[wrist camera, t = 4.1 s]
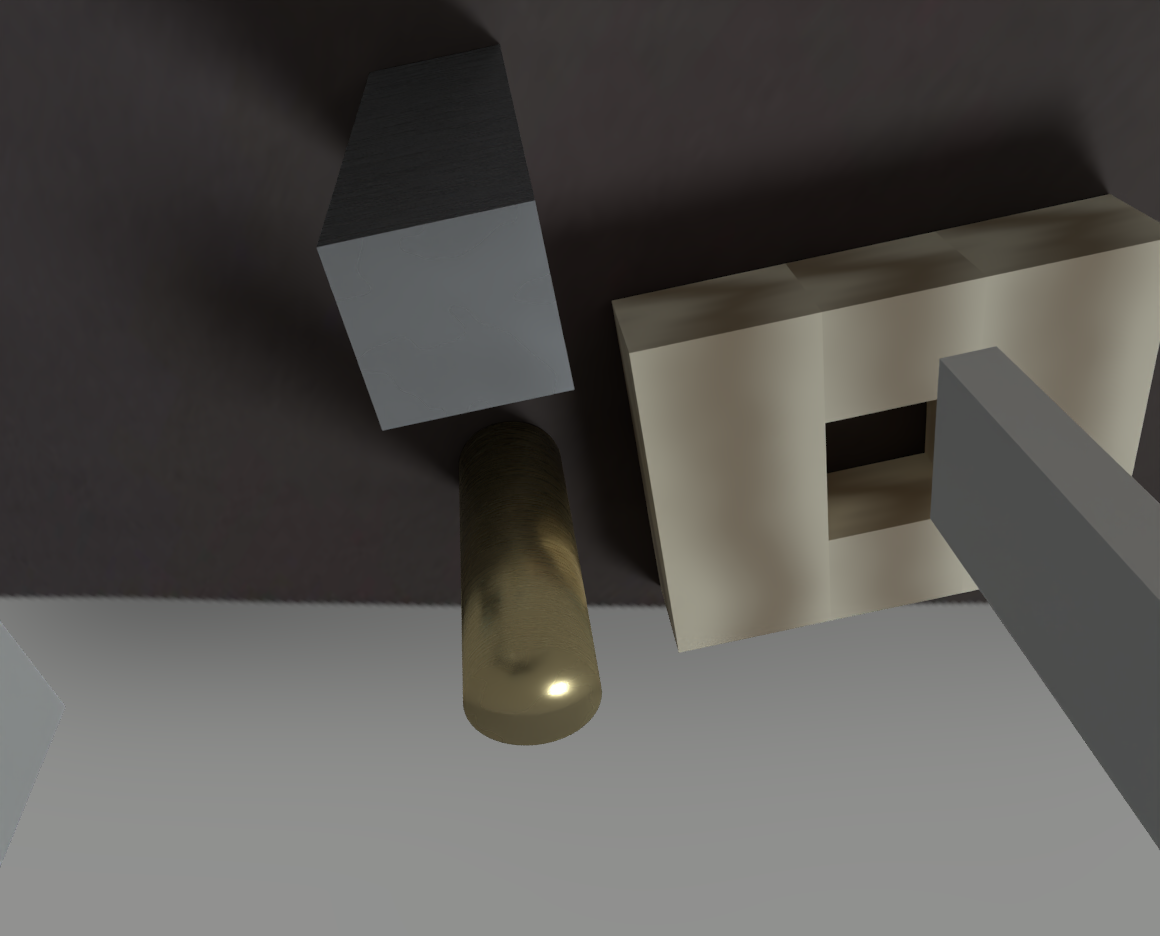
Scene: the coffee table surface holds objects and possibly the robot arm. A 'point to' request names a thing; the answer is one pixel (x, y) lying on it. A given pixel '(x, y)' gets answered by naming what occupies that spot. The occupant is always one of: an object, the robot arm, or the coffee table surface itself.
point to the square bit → (442, 246)
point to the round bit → (522, 592)
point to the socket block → (864, 403)
